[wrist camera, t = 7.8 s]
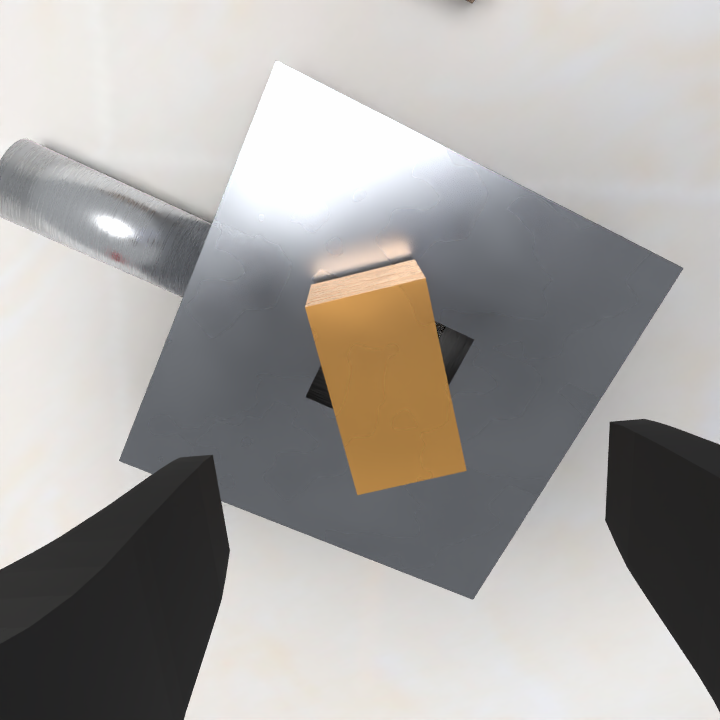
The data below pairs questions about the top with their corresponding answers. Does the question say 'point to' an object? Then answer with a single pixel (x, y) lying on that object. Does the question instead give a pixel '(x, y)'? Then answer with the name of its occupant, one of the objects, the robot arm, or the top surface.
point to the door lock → (342, 258)
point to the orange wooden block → (386, 376)
